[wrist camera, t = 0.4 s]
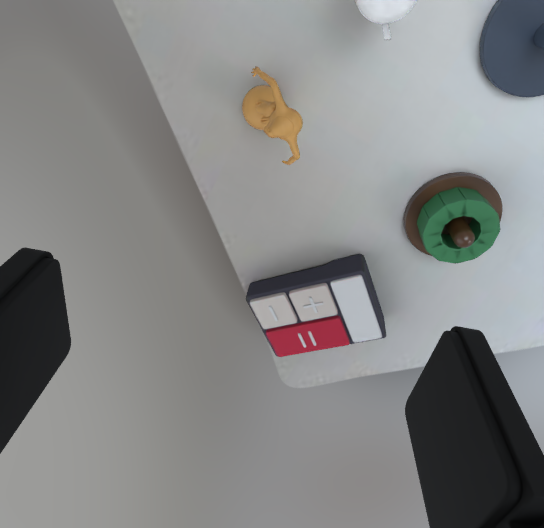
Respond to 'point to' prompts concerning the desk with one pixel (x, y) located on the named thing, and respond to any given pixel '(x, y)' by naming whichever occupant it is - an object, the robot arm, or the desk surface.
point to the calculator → (318, 307)
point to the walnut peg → (456, 226)
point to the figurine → (272, 113)
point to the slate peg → (515, 47)
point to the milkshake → (385, 12)
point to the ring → (454, 206)
